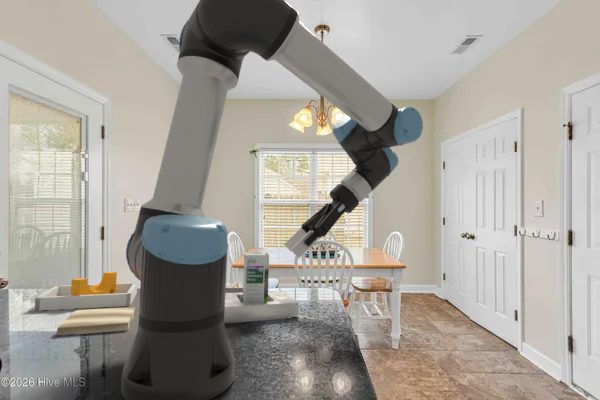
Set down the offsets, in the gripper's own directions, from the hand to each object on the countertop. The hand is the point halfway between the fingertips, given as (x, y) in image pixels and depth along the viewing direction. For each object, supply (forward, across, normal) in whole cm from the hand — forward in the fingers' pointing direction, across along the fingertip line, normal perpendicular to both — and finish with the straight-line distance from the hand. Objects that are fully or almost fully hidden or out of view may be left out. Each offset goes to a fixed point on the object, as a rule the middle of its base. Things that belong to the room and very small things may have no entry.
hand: (290, 250), depth 84 cm
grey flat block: (+17, 0, -5) cm, 17 cm away
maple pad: (+40, -6, +18) cm, 44 cm away
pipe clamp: (+46, +12, +25) cm, 54 cm away
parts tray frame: (+46, +12, +25) cm, 54 cm away
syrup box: (+17, 0, -5) cm, 17 cm away
